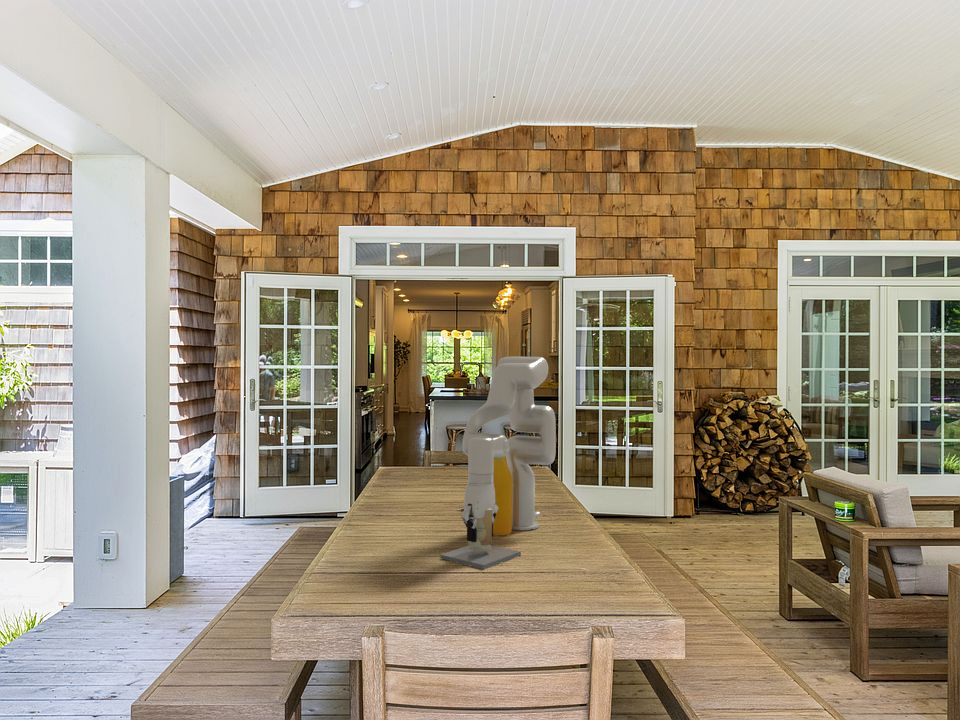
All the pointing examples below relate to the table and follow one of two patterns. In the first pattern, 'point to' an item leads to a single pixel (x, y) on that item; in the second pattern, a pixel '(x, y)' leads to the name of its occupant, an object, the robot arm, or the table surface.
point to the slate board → (481, 556)
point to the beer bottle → (502, 497)
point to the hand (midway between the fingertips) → (480, 538)
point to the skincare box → (483, 533)
